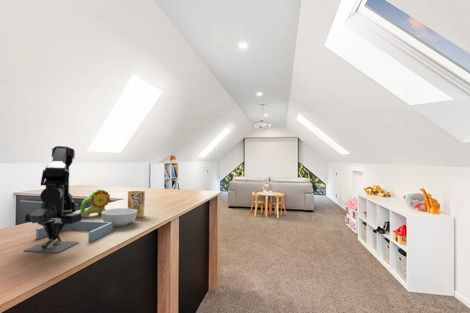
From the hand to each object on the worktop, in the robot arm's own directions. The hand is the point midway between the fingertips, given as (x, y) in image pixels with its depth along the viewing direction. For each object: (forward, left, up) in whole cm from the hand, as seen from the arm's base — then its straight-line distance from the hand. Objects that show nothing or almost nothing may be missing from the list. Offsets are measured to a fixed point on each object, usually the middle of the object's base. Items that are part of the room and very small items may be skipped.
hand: (52, 240), depth 93 cm
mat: (0, 0, -3) cm, 3 cm away
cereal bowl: (+7, +34, -3) cm, 35 cm away
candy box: (+7, +52, -3) cm, 53 cm away
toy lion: (-17, +50, -3) cm, 53 cm away
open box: (-2, +15, -3) cm, 16 cm away
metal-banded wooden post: (0, 0, -2) cm, 3 cm away
